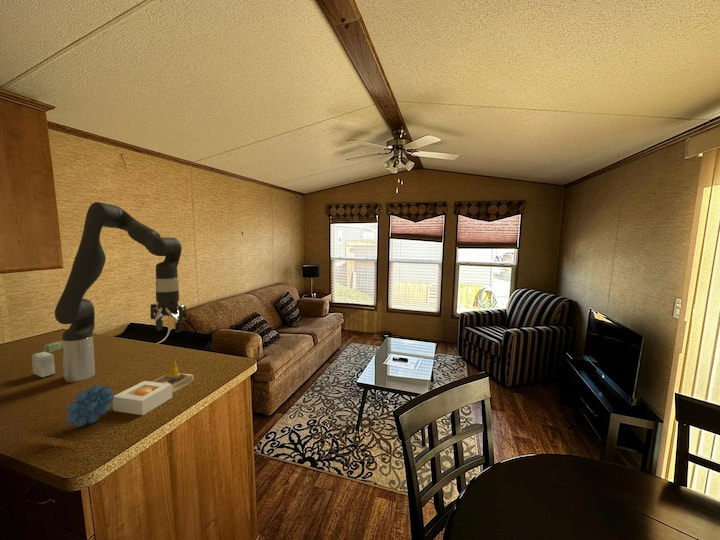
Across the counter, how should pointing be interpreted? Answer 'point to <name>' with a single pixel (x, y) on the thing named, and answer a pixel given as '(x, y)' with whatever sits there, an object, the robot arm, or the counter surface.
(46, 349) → the medication box
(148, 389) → the button
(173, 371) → the drill bit
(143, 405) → the frame
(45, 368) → the medicine box
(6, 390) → the counter surface
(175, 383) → the tray
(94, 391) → the grapes
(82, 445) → the counter surface
